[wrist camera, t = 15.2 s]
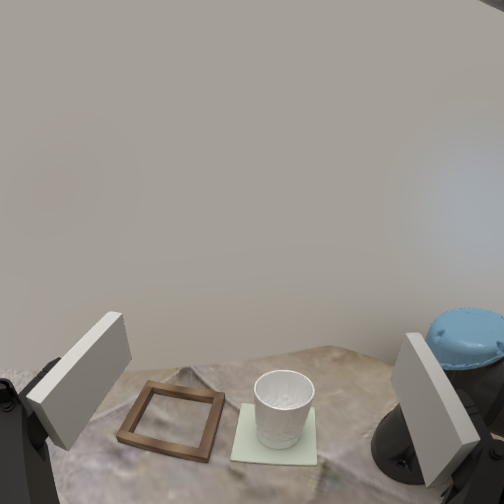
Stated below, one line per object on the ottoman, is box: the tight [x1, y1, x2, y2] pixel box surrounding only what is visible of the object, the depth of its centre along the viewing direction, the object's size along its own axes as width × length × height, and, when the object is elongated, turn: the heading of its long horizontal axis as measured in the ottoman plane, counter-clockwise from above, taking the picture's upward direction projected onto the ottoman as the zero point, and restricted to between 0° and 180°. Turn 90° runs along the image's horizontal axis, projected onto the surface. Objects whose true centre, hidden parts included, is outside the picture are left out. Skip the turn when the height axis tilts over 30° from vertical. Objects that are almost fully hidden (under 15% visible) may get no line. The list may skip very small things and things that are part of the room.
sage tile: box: [230, 403, 317, 466], centre depth 39 cm, size 12×12×1 cm
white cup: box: [254, 370, 315, 450], centre depth 38 cm, size 8×8×10 cm
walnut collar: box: [116, 380, 225, 463], centre depth 41 cm, size 14×14×2 cm
